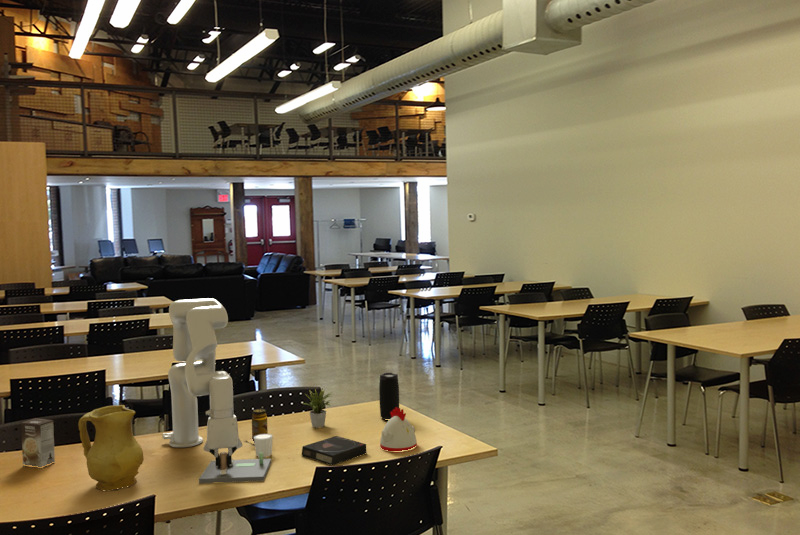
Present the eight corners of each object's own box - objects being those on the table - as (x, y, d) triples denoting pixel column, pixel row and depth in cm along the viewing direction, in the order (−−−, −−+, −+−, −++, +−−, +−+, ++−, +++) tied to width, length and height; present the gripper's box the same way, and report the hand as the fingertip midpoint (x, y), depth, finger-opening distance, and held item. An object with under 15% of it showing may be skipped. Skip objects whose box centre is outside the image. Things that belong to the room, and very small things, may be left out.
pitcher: (109, 497, 210) (106, 418, 209) (74, 487, 220) (70, 411, 219) (155, 480, 225) (152, 406, 224) (120, 470, 235) (117, 399, 233)
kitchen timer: (396, 455, 245) (395, 414, 244) (372, 446, 256) (371, 407, 255) (424, 446, 254) (423, 407, 254) (400, 438, 265) (399, 401, 264)
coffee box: (21, 466, 241) (19, 422, 240) (36, 461, 247) (34, 417, 246) (41, 469, 238) (39, 424, 237) (56, 463, 244) (54, 419, 243)
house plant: (333, 431, 276) (332, 392, 275) (300, 432, 276) (298, 392, 276) (337, 422, 290) (336, 384, 290) (305, 422, 291) (304, 385, 290)
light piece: (217, 462, 235) (216, 444, 235) (233, 461, 236) (232, 443, 236) (214, 475, 223) (214, 456, 222) (232, 473, 224) (231, 454, 223)
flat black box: (301, 457, 246) (301, 446, 246) (336, 446, 259) (336, 435, 258) (331, 467, 235) (331, 456, 235) (366, 454, 247) (366, 444, 247)
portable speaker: (381, 422, 289) (379, 376, 288) (379, 416, 298) (378, 372, 297) (400, 421, 290) (399, 375, 289) (398, 415, 299) (397, 371, 298)
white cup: (257, 459, 244) (256, 440, 244) (252, 453, 250) (251, 435, 250) (275, 455, 247) (275, 437, 247) (270, 450, 253) (269, 432, 253)
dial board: (198, 483, 221) (198, 466, 221) (211, 464, 239) (211, 449, 238) (263, 480, 222) (263, 464, 222) (271, 462, 240) (270, 447, 239)
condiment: (272, 440, 267) (271, 410, 266) (253, 445, 261) (252, 414, 260) (262, 436, 272) (261, 407, 271) (243, 441, 266) (242, 411, 265)
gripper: (196, 418, 219) (198, 473, 220) (247, 413, 223) (249, 468, 224) (196, 412, 226) (198, 466, 227) (245, 408, 231) (247, 460, 232)
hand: (223, 466), depth 226 cm, fingers closed on light piece, 2 cm apart
